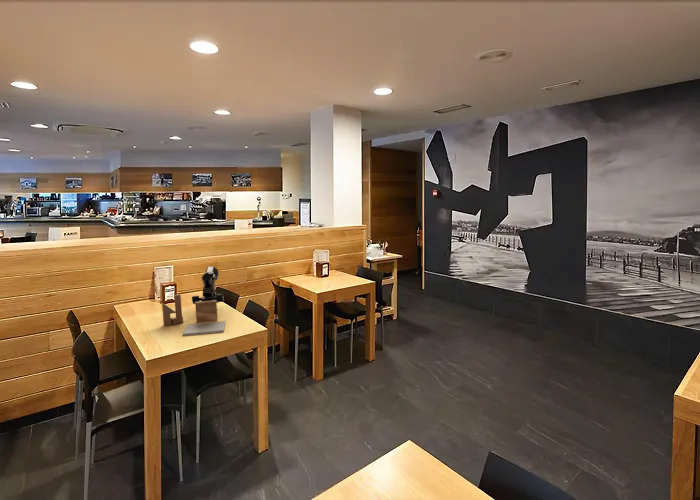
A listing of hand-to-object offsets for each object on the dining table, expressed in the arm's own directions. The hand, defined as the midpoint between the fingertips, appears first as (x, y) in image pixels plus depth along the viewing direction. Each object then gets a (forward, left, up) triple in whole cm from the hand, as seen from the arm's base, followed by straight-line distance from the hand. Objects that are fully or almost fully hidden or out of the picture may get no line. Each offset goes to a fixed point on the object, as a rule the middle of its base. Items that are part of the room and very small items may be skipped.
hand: (207, 310), depth 251 cm
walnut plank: (+5, +1, -7) cm, 9 cm away
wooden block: (+6, -19, -7) cm, 21 cm away
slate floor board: (+16, +4, -7) cm, 18 cm away
